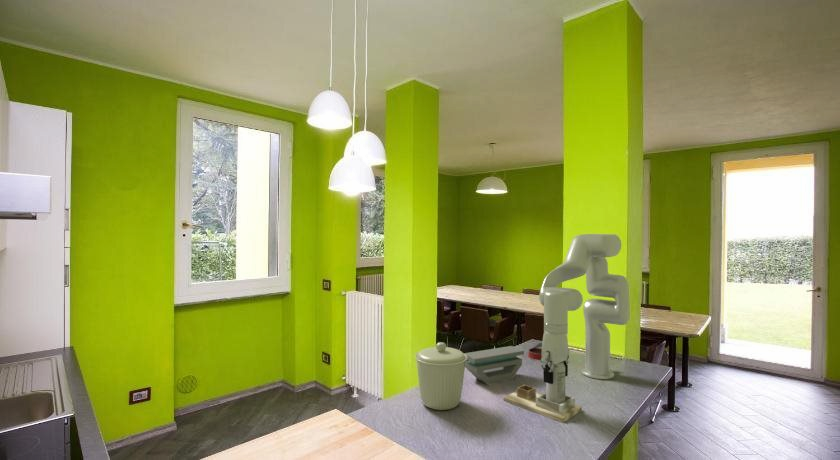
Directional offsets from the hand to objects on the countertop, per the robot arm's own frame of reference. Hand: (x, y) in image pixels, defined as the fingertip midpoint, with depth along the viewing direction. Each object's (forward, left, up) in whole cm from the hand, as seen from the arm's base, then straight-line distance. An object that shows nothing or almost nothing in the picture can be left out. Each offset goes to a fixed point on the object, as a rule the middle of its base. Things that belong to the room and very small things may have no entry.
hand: (555, 379), depth 133 cm
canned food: (-48, -34, -11) cm, 59 cm away
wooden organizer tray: (0, -5, -10) cm, 11 cm away
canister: (+25, -29, -11) cm, 40 cm away
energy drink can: (0, 0, -9) cm, 9 cm away
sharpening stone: (-8, -31, -11) cm, 34 cm away
